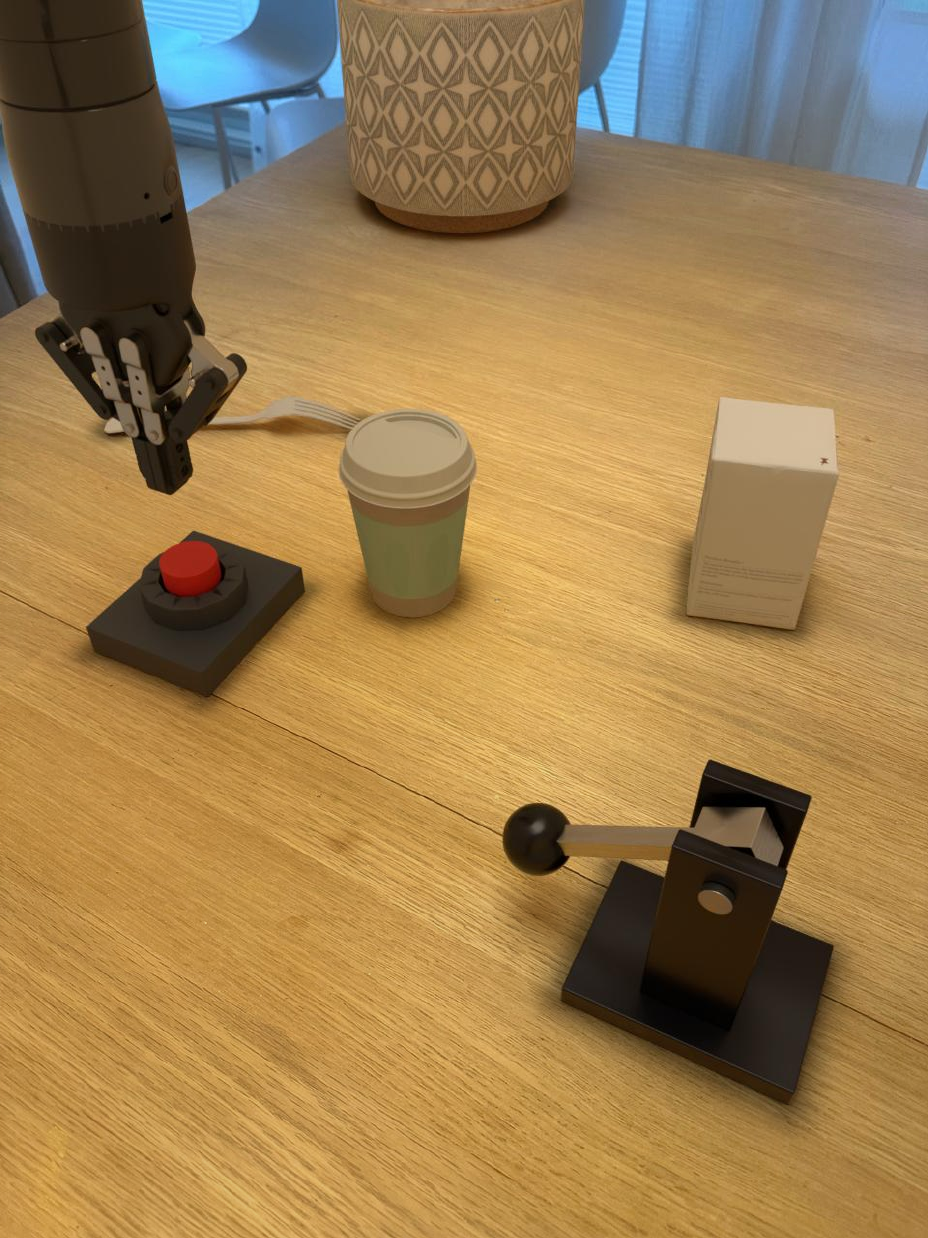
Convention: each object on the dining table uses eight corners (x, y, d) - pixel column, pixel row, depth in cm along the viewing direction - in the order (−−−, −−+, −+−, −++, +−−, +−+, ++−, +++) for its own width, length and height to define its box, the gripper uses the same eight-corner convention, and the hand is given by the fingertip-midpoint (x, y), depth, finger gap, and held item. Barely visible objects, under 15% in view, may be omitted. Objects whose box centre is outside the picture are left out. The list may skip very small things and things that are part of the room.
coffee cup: (500, 602, 71) (504, 452, 63) (389, 649, 68) (378, 498, 60) (434, 535, 76) (431, 389, 68) (329, 576, 73) (311, 428, 65)
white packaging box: (796, 562, 74) (839, 406, 65) (795, 634, 69) (842, 474, 60) (690, 547, 75) (718, 392, 67) (681, 616, 70) (711, 457, 61)
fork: (119, 442, 89) (108, 414, 88) (360, 416, 88) (354, 387, 86) (111, 461, 87) (100, 433, 85) (358, 435, 86) (352, 406, 84)
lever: (509, 889, 50) (478, 839, 49) (538, 836, 53) (509, 787, 51) (770, 908, 42) (742, 849, 41) (791, 845, 44) (765, 787, 43)
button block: (207, 697, 65) (196, 651, 62) (93, 651, 68) (78, 605, 65) (305, 591, 72) (299, 545, 69) (198, 554, 75) (188, 509, 72)
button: (198, 604, 66) (193, 583, 64) (152, 587, 67) (146, 566, 66) (232, 571, 68) (228, 550, 67) (187, 555, 69) (183, 534, 68)
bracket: (559, 1000, 50) (579, 843, 42) (618, 872, 55) (646, 708, 47) (789, 1106, 47) (862, 957, 38) (829, 957, 52) (902, 797, 43)
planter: (531, 258, 110) (541, 20, 95) (314, 224, 117) (290, -4, 102) (597, 174, 128) (614, -39, 113) (404, 148, 134) (396, -56, 119)
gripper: (-60, 191, 50) (39, 489, 62) (161, 242, 46) (223, 552, 58) (51, 143, 55) (124, 427, 67) (260, 184, 51) (299, 481, 62)
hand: (170, 485), depth 62 cm, fingers closed
